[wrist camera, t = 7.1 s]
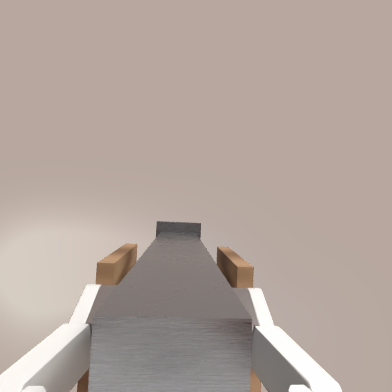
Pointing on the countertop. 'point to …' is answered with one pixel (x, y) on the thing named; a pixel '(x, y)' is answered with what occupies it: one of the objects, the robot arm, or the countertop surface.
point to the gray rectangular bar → (172, 323)
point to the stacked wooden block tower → (126, 258)
